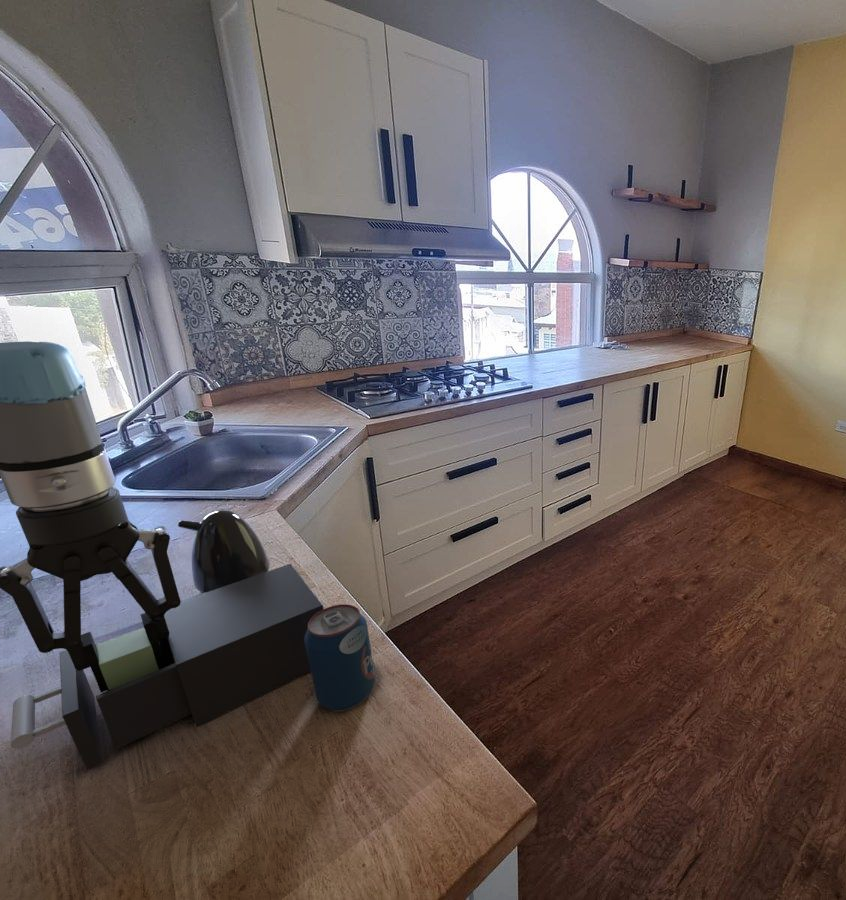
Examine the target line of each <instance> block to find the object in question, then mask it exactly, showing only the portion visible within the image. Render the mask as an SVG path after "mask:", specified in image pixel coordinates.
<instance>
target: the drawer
mask: <svg viewBox="0 0 846 900" xmlns="http://www.w3.org/2000/svg"><path fill="white" fill-rule="evenodd" d="M142 628H144V626H143V627H140V628H137V629H134V630H132V631H129V632H126V633H123V634H120V635H118V636H115V637H112V638H110V639H106V640H104V641H101V642H97V643H95V644H96V645H97V644H100V643H103V642H105V641H108V640H111V639H114V638H117V637H120V636H122V635H125V634H128V633H131V632H134V631H136V630H139V629H142ZM159 643H160V646H161V649H162V652H163V655H164V658H165V662H166V665H167V666H166V667H163V668H161V669H159V670H157V671H155V672H153V673H150V674H148V675H145V676H143V677H140V678H138V679H135V680H133V681H130V682H128V683H126V684H123V685H121V686H118V687H116V688H113V689H111V690H107V691H104V692H102V693H101V692H100V693H99V694H96V695H95V694H94V692H93V690H92V688H91V685H90V683H89V681H88V677H87V675H86V674H85V669H83V670H81V671H78V670H77V669H75V667H74V664H73V662H72V660H71V657H70V655H69V653H68V651H67V650H66V649H64V650H61V651H60V652H59V666H60V667H59V668H60V670H59V671H60V686H58V687H56V688H53V689H50V690H47V691H45V692H43V693H39V694H37V695H35V696H34V695H32V694H24V695H21V696H18V697H17V698H16V699H15V700H14V701H13V703H12V717H11V733H10V747H11V748H12V749H15V750H20V749H24V748H27V747H28V746H30V745H32V743H34V741H35V738H37V737H40V736H42V735H44V734H46V733H49V732H51V731H53V730H56V729H59V728H61V727H63V726H65V725H66V727H67V729H68V731H69V734H70V736H71V738H72V740H73V743H74V745H75V748H76V749H77V751H78V754H79V756H80V758H81V761H82V763H83V764H84V765H83V766H84V767H85V769H86V770H87V771H88V770H90V769H92V768H94V767H97V766H99V765H101V764H102V763H103V760H102V750H101V742H100V733H99V724H98V715H97V707H96V703H97V704H98V707H99V709H100V712H101V715H102V717H103V719H104V721H105V724H106V726H107V729H108V731H109V733H110V736H111V738H112V741H113V743H114V746H115V748H116V749H120V748H122V747H124V746H126V745H128V744H130V743H133V742H134V741H137V740H139V739H141V738H144V737H146V736H147V735H149V734H151V733H154V732H156V731H159V730H160V729H162V728H164V727H166V726H170V725H171V724H173V723H175V722H178V721H179V720H182V719H183V718H185V717H188V716H190V715H192V713H191V710H190V707H189V704H188V701H187V698H186V695H185V692H184V689H183V686H182V683H181V680H180V677H179V674H178V671H177V668H176V665H175V662H174V658H173V655H172V652H171V649H170V646H169V643H168V640H167V638H165V639H162V640H160V641H159ZM58 695H61V712H62V713H61V716H62V718H59V719H57V720H54V721H52V722H49V723H47V724H44V725H42V726H40V727H37V728H35V725H36V723H35V722H36V704H39V703H40V702H42V701H45V700H48V699H50V698H53V697H55V696H58Z"/></svg>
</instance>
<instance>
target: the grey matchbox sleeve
mask: <svg viewBox="0 0 846 900" xmlns="http://www.w3.org/2000/svg"><path fill="white" fill-rule="evenodd" d="M180 601H181V604H180V605H179V606H178V607H176V608H171V609H170V610H168V611H167V612H166V613H165V615H164V617H165V620H166V624H167V627H168V630H169V633H170V634H169V637H168V638H167V640H168V643H169V646H170V649H171V652H172V655H173V658H174V662H175V665H176V668H177V671H178V674H179V677H180V680H181V683H182V686H183V689H184V692H185V695H186V698H187V701H188V704H189V707H190V710H191V713H192V714H191V716H192V719H193V722H194V725H195V728H199V727H201V726H203V725H205V724H207V723H209V722H211V721H214V720H216V719H218V718H220V717H222V716H224V715H226V714H228V713H230V712H232V711H235V710H236V709H238V708H240V707H242V706H244V705H247V704H248V703H251V702H253V701H254V700H257V699H258V698H261V697H262V696H265V695H266V694H269V693H271V692H273V691H275V690H277V689H280V688H281V687H283V686H285V685H288V684H290V683H292V682H294V681H296V680H297V679H300V678H302V677H304V676H307V674H309V673H310V674H311V669H310V664H309V660H308V655H307V650H306V645H305V640H304V638H305V634H306V632H307V630H308V623H309V621H310V619H311V618H312V617H313V616H314V615H315V614H316V613H318V612H319V611H321V610H323V609H325V608H324V605H323V603H322V602H321V600H320V599H319V598H318V596H317V595H316V594H315V592H314V591H313V590H312V589H311V588H310V586H309V585H308V584H307V583H306V581H305V580H304V579H303V577H302V576H301V575H300V573H299V572H298V571H297V570H296V568H295V567H294V566H293V564H292V563H288V564H286V565H283V566H279V567H276V568H274V569H271V570H268V572H265V573H262V574H259V575H256V576H253V577H250V578H247V579H244V580H241V581H239V582H236V583H233V584H230V585H227V586H224V587H221V588H218V589H215V590H212V591H209V592H206V593H204V594H202V593H201V594H198V595H195V596H192V597H189V598H187V599H184V600H180Z"/></svg>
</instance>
